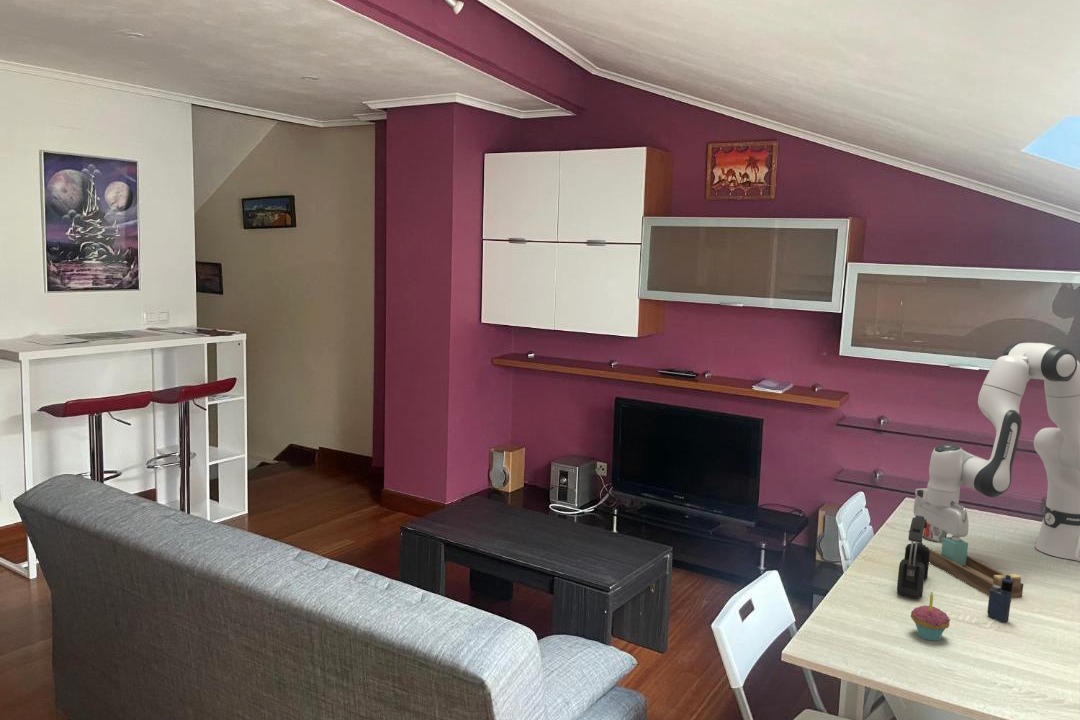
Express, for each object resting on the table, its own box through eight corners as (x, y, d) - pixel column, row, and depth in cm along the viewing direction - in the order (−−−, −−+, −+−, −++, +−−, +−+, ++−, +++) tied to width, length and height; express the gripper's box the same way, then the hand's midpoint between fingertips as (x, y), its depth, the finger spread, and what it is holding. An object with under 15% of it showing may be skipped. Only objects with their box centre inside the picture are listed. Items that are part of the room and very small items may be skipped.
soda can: (950, 542, 264) (954, 504, 262) (927, 542, 264) (931, 503, 262) (939, 535, 271) (943, 497, 269) (918, 534, 271) (921, 496, 269)
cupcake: (945, 647, 191) (951, 599, 189) (906, 637, 195) (911, 590, 194) (949, 634, 198) (954, 587, 197) (911, 624, 203) (916, 578, 201)
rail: (952, 560, 248) (954, 541, 248) (1022, 596, 222) (1024, 576, 222) (926, 561, 246) (928, 543, 246) (993, 598, 220) (996, 578, 220)
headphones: (904, 570, 238) (910, 505, 236) (928, 575, 235) (935, 509, 233) (895, 597, 219) (902, 525, 217) (920, 602, 216) (928, 530, 214)
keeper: (953, 559, 245) (956, 533, 244) (965, 565, 240) (968, 539, 239) (940, 560, 244) (943, 534, 243) (952, 566, 239) (955, 540, 238)
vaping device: (1004, 623, 205) (1009, 578, 203) (984, 615, 210) (989, 570, 208) (1010, 622, 206) (1016, 576, 205) (991, 613, 211) (996, 569, 209)
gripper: (976, 507, 237) (971, 553, 239) (929, 487, 257) (925, 529, 259) (957, 508, 236) (952, 554, 238) (911, 488, 256) (907, 530, 257)
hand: (938, 541), depth 248 cm, fingers closed
